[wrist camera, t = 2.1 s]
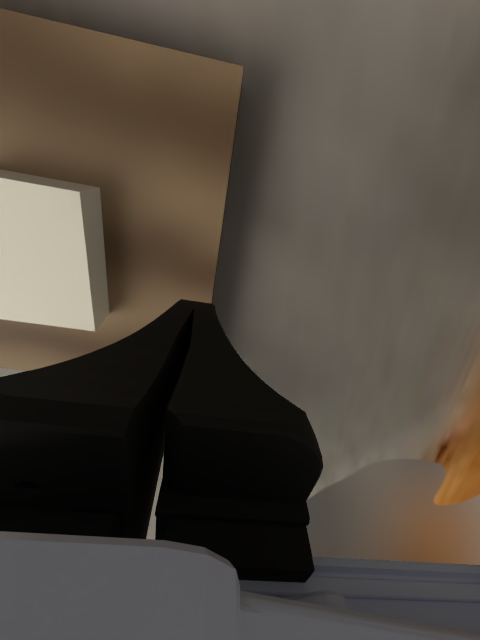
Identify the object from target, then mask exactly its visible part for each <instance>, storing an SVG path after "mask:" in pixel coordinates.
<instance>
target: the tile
mask: <svg viewBox="0 0 480 640" xmlns="http://www.w3.org/2000/svg"><path fill="white" fill-rule="evenodd" d="M108 315H109V301H108V288H107V275H106V262H105V249H104V235H103V222H102V209H101V196H100V187H94V186H89V185H83V184H78V183H72V182H67V181H61V180H56V179H50V178H45V177H40V176H34V175H29V174H23V173H18V172H12V171H7V170H1V169H0V319H3V320H11V321H18V322H26V323H34V324H42V325H49V326H57V327H65V328H72V329H80V330H88V331H96V330H97V328H98V327H99V326H100V325H101V323H102V322H103V321H104V320H105V318H106V317H107V316H108Z"/></svg>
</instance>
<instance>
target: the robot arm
mask: <svg viewBox="0 0 480 640" xmlns="http://www.w3.org/2000/svg"><path fill="white" fill-rule="evenodd" d="M163 452H164V463H163V479H162V483H161V487H160V492H159V496H158V501H157V505H156V511H155V516H156V537H155V540H150V539H146V536H147V531H148V526H149V521H150V516H151V511H152V506H153V501H154V496H155V491H156V486H157V481H158V476H159V472H160V467H161V462H162V457H163ZM322 469H323V461H322V455H321V452H320V448H319V445H318V442H317V439H316V436H315V434H314V431H313V429H312V427H311V424H310V422H309V420H308V418H307V415H306V413H305V412H304V411H303V410H301V409H300V408H298V407H297V406H295V405H294V404H292V403H291V402H289V401H288V400H287V399H285V398H284V397H282V396H281V395H279V394H278V393H277V392H275V391H274V390H273V389H272V388H271V387H269V386H268V385H267V384H266V383H265V382H263V381H262V380H261V379H260V378H259V377H258V376H257V375H256V374H255V373H254V372H253V371H252V370H251V369H250V368H249V367H248V366H247V365H246V364H245V363H244V361H243V360H242V359H241V358H240V356H239V355H238V354H237V352H236V351H235V349H234V348H233V346H232V345H231V343H230V342H229V340H228V338H227V336H226V335H225V333H224V331H223V329H222V327H221V325H220V322H219V320H218V317H217V315H216V311H215V306H214V305H213V304H211V303H204V302H197V301H191V300H184V299H180V300H179V301H177V302H176V303H175V304H174V305H173V306H171V307H170V308H169V309H168V310H166V311H165V312H164V313H163V314H161V315H160V316H159V317H157V318H156V319H155V320H153V321H152V322H151V323H149V324H147V325H146V326H144V327H143V328H141V329H140V330H138V331H136V332H135V333H133V334H131V335H129V336H127V337H125V338H123V339H121V340H119V341H117V342H115V343H113V344H111V345H108V346H106V347H103V348H101V349H98V350H96V351H93V352H91V353H88V354H85V355H83V356H80V357H77V358H74V359H71V360H67V361H64V362H61V363H57V364H54V365H50V366H46V367H43V368H39V369H34V370H30V371H26V372H21V373H17V374H13V375H8V376H4V377H0V640H480V565H468V564H466V565H465V564H449V563H429V562H428V563H427V562H409V561H390V560H371V559H352V558H350V559H349V558H332V557H313V556H312V553H311V548H310V544H309V538H308V533H307V528H306V525H308V524H309V519H310V518H309V512H308V508H307V503H306V500H307V498H308V497H309V495H310V493H311V491H312V490H313V488H314V486H315V484H316V483H317V481H318V479H319V477H320V475H321V472H322Z"/></svg>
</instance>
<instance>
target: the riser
mask: <svg viewBox="0 0 480 640" xmlns="http://www.w3.org/2000/svg"><path fill="white" fill-rule="evenodd" d="M243 68H244V66H240V65H236V64H232V63H228V62H224V61H219V60H215V59H211V58H207V57H203V56H198V55H194V54H190V53H186V52H182V51H178V50H173V49H169V48H165V47H161V46H157V45H152V44H148V43H144V42H140V41H136V40H132V39H127V38H123V37H119V36H115V35H111V34H106V33H102V32H98V31H94V30H90V29H86V28H81V27H77V26H73V25H69V24H65V23H60V22H56V21H52V20H48V19H44V18H40V17H35V16H31V15H27V14H23V13H19V12H14V11H10V10H6V9H2V8H0V169H1V170H7V171H12V172H18V173H23V174H29V175H34V176H40V177H45V178H50V179H56V180H61V181H67V182H72V183H78V184H83V185H89V186H94V187H100V196H101V209H102V222H103V235H104V249H105V262H106V275H107V288H108V301H109V315H108V316H107V317H106V318H105V320H104V321H103V322H102V323H101V325H100V326H99V327H98V328H97V330H96V331H88V330H80V329H72V328H65V327H57V326H49V325H42V324H34V323H26V322H18V321H11V320H3V319H0V368H8V369H17V370H26V371H30V370H34V369H39V368H43V367H46V366H50V365H54V364H57V363H61V362H64V361H67V360H71V359H74V358H77V357H80V356H83V355H85V354H88V353H91V352H93V351H96V350H98V349H101V348H103V347H106V346H108V345H111V344H113V343H115V342H117V341H119V340H121V339H123V338H125V337H127V336H129V335H131V334H133V333H135V332H136V331H138V330H140V329H141V328H143V327H144V326H146V325H147V324H149V323H151V322H152V321H153V320H155V319H156V318H157V317H159V316H160V315H161V314H163V313H164V312H165V311H166V310H168V309H169V308H170V307H171V306H173V305H174V304H175V303H176V302H177V301H179V300H180V299H184V300H191V301H197V302H204V303H211V304H212V297H213V290H214V283H215V276H216V268H217V261H218V254H219V246H220V239H221V232H222V225H223V217H224V210H225V203H226V195H227V188H228V181H229V174H230V166H231V159H232V152H233V145H234V137H235V130H236V123H237V115H238V108H239V101H240V94H241V86H242V78H243Z"/></svg>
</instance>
